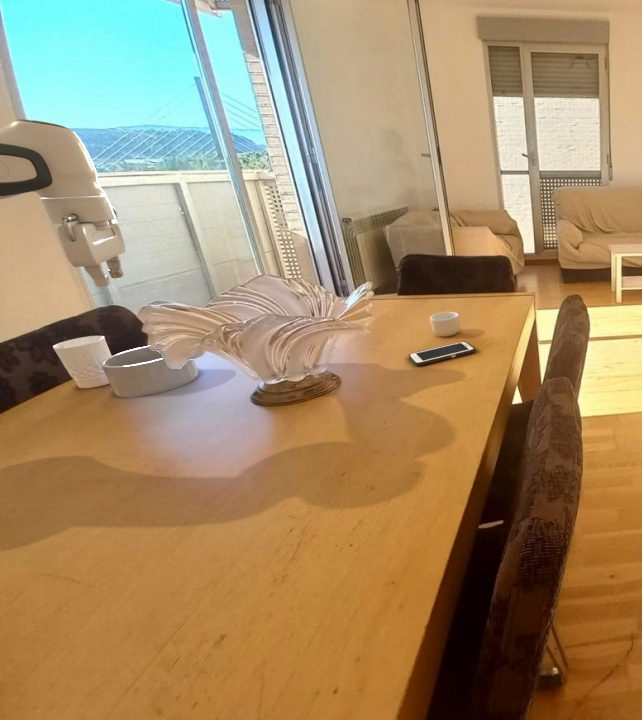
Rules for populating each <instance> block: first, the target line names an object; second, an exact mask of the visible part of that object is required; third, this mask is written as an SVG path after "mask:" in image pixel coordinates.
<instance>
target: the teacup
mask: <svg viewBox="0 0 642 720" xmlns="http://www.w3.org/2000/svg"><path fill="white" fill-rule="evenodd" d="M460 321H461V319H460V314H459V313H458V312H455V311H442V312H437V313H434V314H432V315H430V316H429V322H430V326H431V328H432V331H433V333H434V334H435V335H436V336H439V337H443V338H448V337H452V336H454V335H456V334H457V333H458V332H459V330H460V327H461V322H460Z"/></svg>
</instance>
